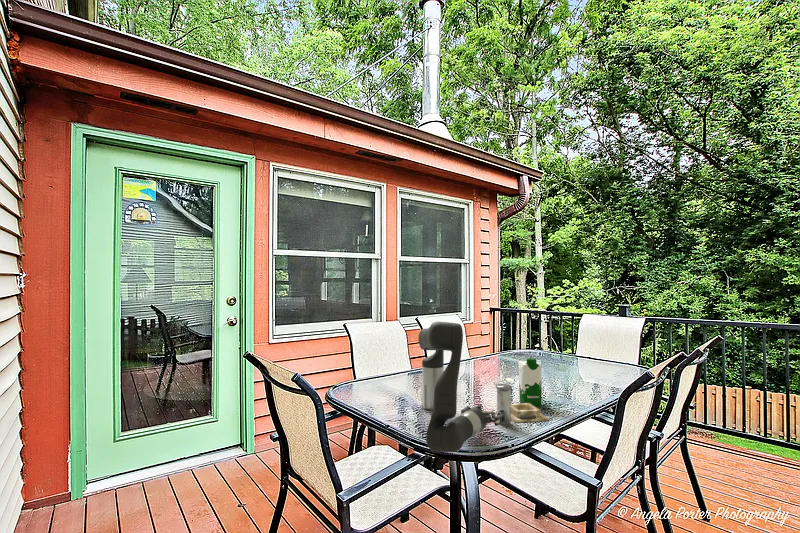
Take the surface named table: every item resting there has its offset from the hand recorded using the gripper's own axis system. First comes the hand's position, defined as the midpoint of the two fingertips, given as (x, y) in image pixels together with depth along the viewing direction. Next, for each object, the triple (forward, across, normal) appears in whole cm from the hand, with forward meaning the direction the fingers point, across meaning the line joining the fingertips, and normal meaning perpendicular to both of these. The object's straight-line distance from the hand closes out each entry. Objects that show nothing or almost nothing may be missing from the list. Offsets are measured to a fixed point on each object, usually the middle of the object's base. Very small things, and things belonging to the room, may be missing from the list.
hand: (491, 410), depth 146 cm
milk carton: (+39, 0, +8) cm, 40 cm away
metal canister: (+11, 0, +8) cm, 13 cm away
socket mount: (+24, -3, +8) cm, 25 cm away
